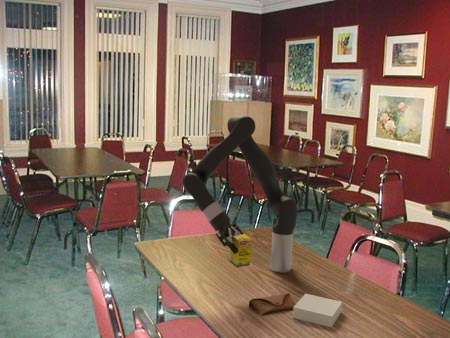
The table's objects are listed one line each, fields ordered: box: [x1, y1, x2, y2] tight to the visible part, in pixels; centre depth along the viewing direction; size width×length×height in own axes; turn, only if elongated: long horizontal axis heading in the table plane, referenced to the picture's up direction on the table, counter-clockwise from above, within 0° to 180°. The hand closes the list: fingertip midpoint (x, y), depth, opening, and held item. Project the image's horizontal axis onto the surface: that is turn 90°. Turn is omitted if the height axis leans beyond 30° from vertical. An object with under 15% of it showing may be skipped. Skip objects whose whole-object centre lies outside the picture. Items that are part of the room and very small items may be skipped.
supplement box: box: [229, 233, 253, 268], centre depth 196 cm, size 6×6×11 cm
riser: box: [292, 293, 343, 328], centre depth 184 cm, size 14×14×4 cm
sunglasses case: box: [248, 293, 297, 317], centre depth 189 cm, size 18×7×7 cm, turn 117°
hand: (241, 249), depth 196 cm, fingers closed on supplement box, 8 cm apart
